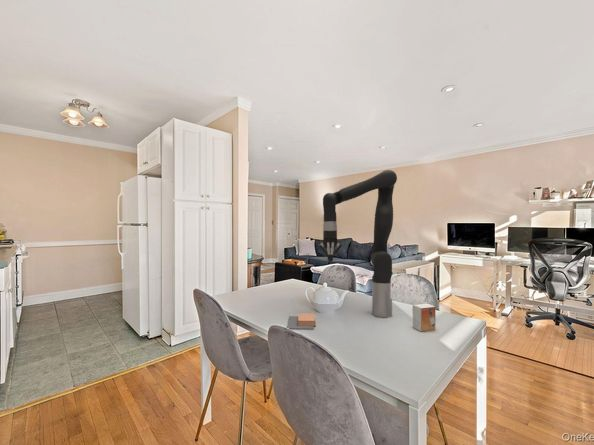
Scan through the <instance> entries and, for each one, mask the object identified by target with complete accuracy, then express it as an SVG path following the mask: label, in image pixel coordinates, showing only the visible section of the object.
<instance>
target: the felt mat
mask: <svg viewBox="0 0 594 445" xmlns="http://www.w3.org/2000/svg"><path fill="white" fill-rule="evenodd" d="M298 316H299V315H288V322H287V327H286V328H289V329H288V330H314V327H315V326H298Z"/></svg>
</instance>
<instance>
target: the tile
mask: <svg viewBox="0 0 594 445" xmlns="http://www.w3.org/2000/svg"><path fill="white" fill-rule="evenodd" d="M297 316H298V326H313V327H316V313H313V312H311V313H310V312H309V313H308V312H307V313H306V312H304V313H303V312H302V313H301V312H299V313H298V315H297Z"/></svg>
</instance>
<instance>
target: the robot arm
mask: <svg viewBox="0 0 594 445" xmlns="http://www.w3.org/2000/svg"><path fill="white" fill-rule="evenodd" d="M397 180H398V176H397V174H396V172H395V171H394V170H392V169H385V170H383V171H382V172H379V173H377V174H376V175H374V176H372V177H370V178H368V179H366V180H363V181H361V182H358V183H354V184H352V185H349V186H346V187H343V188H340V189H339V191H338V190H337V191H335V192H327V193H325V194H324V195H323V197H322V208H323V209H322V210H323V224H322V226H323V227H322V233H323V234H322V235H323V236H322V237H323V238H322V241H321V243H320V244H319V243H318V247H319V248H320V249H321V250H322V252H323V253H324V254H326V255H327V260H328V262H331V263H332V262H333V261H334V255H335V254H337V253H338V251H339V250H340V249H341V247H342V244H340V243H339V241H338V223H337V212H336V211H337V210H336V207H337V205H339V204H341V203H344V202H347V201H350V200H353V199H356V198H358V197H361V196H362V195H364V194H367V193H368V192H372V191H375V190H377V202H376V206H375V210H374V211H375V212H374V221H373V222H374V225H373V244H372V250H371V255H370V262H371V264H372V265H373V274H372V276H371V282H372V283H371V284H372V285H371V286H372V287H371V288H372V289H371V294H372V296H371V298H372V299H371V300H372V302H371V303H372V305H371V308H372V309H371V310H372V311H371V313H372V315H373V316H374V317H378V318H389V317H390V318H391V317H393V297H391V295H392V294H391V292H392V290H391V287H392V286H391V283H392V282H391V280H392V276H393V259H392V256H391V254H389V253H388V241H389V238H390V235H391V232H392V229H393V223H394V222H393V221H394V207H393V206H394V204H393V193H394V190H395V184H396V183H397ZM324 247H325V248H326V249H325V248H324Z"/></svg>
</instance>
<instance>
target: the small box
mask: <svg viewBox="0 0 594 445" xmlns="http://www.w3.org/2000/svg"><path fill="white" fill-rule="evenodd" d="M412 328H413V329H415V330H417V331H420V332H421V333H422V332H428V331H436V306H434V305H432V304H429V303H420V304H412Z"/></svg>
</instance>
